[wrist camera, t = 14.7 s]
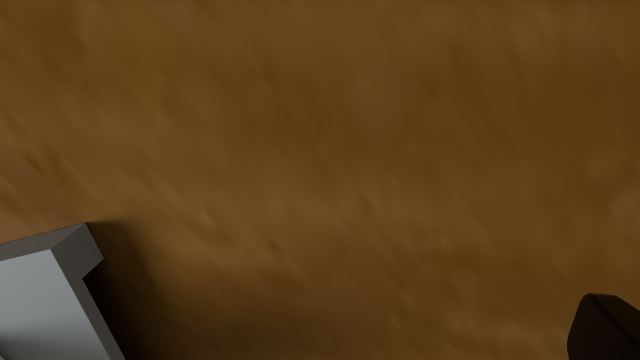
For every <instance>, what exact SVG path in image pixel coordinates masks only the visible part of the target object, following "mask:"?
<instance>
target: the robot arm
mask: <svg viewBox="0 0 640 360" xmlns="http://www.w3.org/2000/svg"><path fill="white" fill-rule="evenodd" d="M567 352H568V357H569V360H640V311H639V310H638V309H636V308H634V307H633V306H631V305H630V304H628V303H627V302H625V301H624V300H622V299H621V298H619V297H617V296H614V295H605V294H593V293H589V294H586V295H585V296H583V298H582V299H581V301H580V303H579V306H578V309H577V312H576V315H575V318H574V321H573V323H572V326H571V329H570V332H569V335H568V340H567Z"/></svg>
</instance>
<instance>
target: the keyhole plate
mask: <svg viewBox="0 0 640 360" xmlns="http://www.w3.org/2000/svg"><path fill="white" fill-rule="evenodd" d="M103 259H104V258H103V256H102V254H101V252H100V250H99V248H98V246H97V244H96V242H95V240H94V238H93V237H92V235H91V233H90V231H89V229H88V227H87V225H86V223H82V224H78V225H74V226H70V227H66V228H63V229H59V230H55V231H51V232H47V233H43V234H39V235H35V236H31V237H27V238H23V239H20V240H16V241H12V242H8V243H4V244H0V356H1V357H2V358H3V359H4V360H125V358H124V356H123V354H122V352H121V350H120V348H119V347H118V345H117V343H116V341H115V339H114V337H113V335H112V334H111V332H110V330H109V328H108V326H107V324H106V322H105V321H104V319H103V317H102V315H101V313H100V311H99V309H98V308H97V306H96V304H95V302H94V300H93V298H92V296H91V295H90V293H89V291H88V289H87V287H86V285H85V283H84V282H83V280H82V278H83V277H84V276H85V275H86V274H87V273H89V272H90V271H91V270H92V269H93V268H94V267H95V266H96V265H97V264H99V263H100V262H101V261H102V260H103Z"/></svg>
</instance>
